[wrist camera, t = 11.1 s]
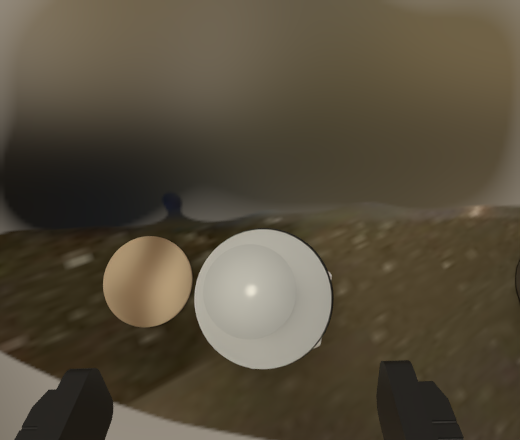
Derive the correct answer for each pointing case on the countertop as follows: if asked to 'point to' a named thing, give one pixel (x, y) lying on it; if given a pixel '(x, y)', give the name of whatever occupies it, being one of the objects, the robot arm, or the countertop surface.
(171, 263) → the disc
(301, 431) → the countertop surface
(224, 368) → the countertop surface
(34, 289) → the countertop surface
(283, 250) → the lid
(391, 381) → the robot arm
